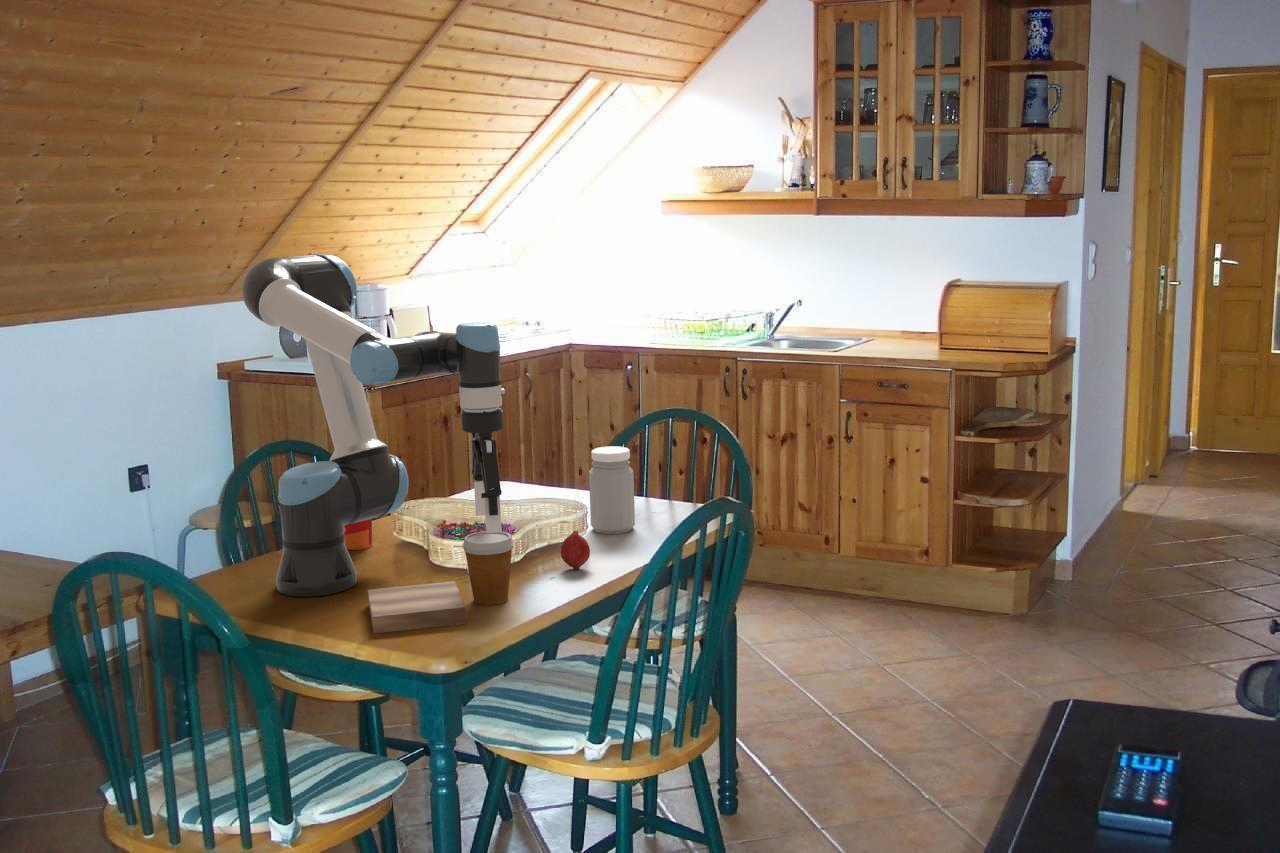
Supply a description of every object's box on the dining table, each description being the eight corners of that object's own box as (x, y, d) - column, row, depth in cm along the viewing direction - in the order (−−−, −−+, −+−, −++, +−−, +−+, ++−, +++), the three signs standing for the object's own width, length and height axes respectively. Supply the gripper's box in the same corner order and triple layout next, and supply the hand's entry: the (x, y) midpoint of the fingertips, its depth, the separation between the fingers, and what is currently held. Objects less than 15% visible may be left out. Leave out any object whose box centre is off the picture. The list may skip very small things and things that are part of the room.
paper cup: (355, 540, 285) (351, 477, 282) (384, 543, 281) (380, 480, 279) (332, 549, 278) (327, 485, 275) (361, 553, 274) (357, 488, 272)
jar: (589, 535, 283) (586, 454, 280) (592, 524, 293) (589, 445, 290) (634, 535, 283) (631, 453, 280) (635, 523, 293) (633, 444, 289)
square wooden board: (368, 605, 239) (367, 589, 239) (455, 596, 243) (455, 581, 243) (373, 633, 224) (372, 616, 224) (466, 623, 228) (465, 607, 228)
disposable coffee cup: (508, 609, 235) (505, 544, 233) (457, 606, 237) (454, 543, 235) (523, 592, 245) (520, 531, 242) (474, 591, 246) (471, 529, 244)
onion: (561, 573, 256) (559, 534, 255) (561, 565, 262) (560, 526, 260) (590, 572, 256) (589, 533, 255) (590, 564, 262) (589, 525, 260)
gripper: (513, 417, 223) (519, 537, 227) (492, 397, 247) (498, 506, 251) (469, 421, 222) (477, 541, 225) (453, 400, 245) (459, 510, 249)
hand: (488, 523), depth 238 cm, fingers open, 13 cm apart
